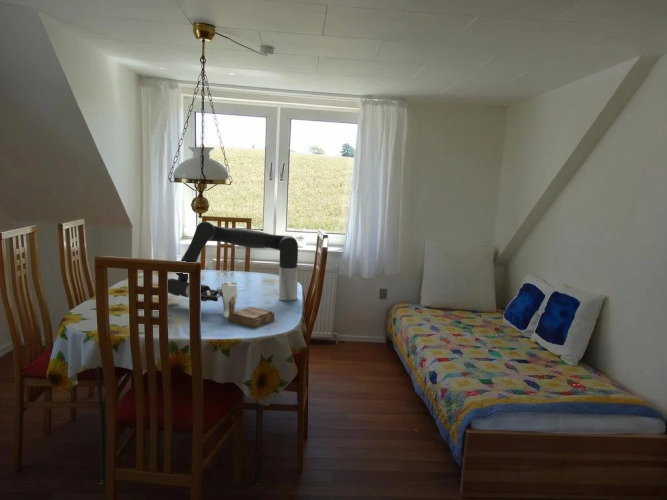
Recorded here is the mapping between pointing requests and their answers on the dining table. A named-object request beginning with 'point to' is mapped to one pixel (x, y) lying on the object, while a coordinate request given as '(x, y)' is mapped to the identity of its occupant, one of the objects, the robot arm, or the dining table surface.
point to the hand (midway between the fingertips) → (224, 297)
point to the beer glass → (229, 298)
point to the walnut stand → (251, 317)
